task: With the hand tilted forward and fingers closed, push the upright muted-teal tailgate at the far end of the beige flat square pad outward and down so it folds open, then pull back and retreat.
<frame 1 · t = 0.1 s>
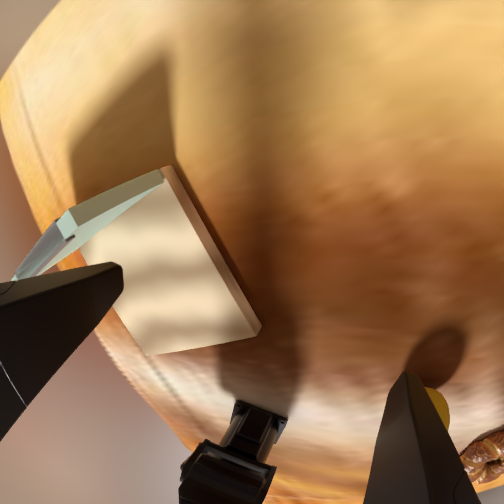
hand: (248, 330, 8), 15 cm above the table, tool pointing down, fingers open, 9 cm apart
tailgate: (73, 236, 23), point 6 cm above the table, hinge at -3.0°
pretzel: (493, 446, 24), on the table
lemon: (419, 387, 24), on the table
beige flat square pad: (157, 275, 30), on the table
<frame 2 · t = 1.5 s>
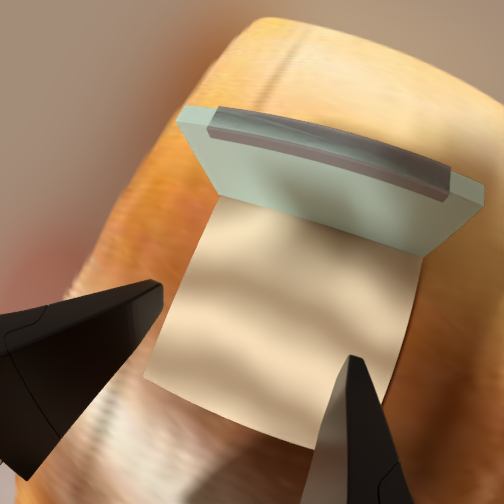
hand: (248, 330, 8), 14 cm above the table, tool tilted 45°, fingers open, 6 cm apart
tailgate: (325, 186, 17), point 6 cm above the table, hinge at -3.0°
beige flat square pad: (289, 319, 22), on the table
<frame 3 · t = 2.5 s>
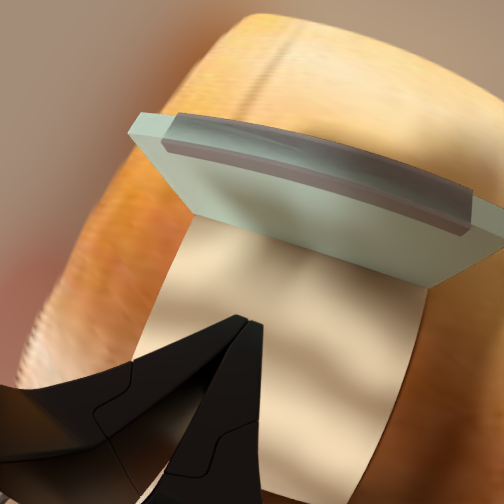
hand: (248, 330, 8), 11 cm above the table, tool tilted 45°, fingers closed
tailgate: (312, 209, 14), point 6 cm above the table, hinge at -3.0°
beige flat square pad: (271, 357, 18), on the table
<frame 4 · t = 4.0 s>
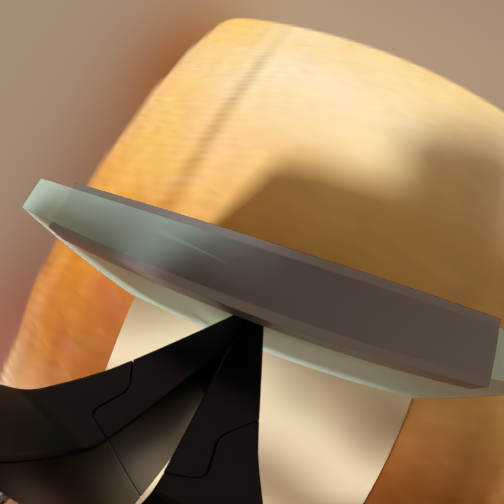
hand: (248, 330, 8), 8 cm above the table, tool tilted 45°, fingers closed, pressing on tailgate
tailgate: (261, 319, 10), point 6 cm above the table, hinge at 5.9°, touching gripper
beige flat square pad: (223, 459, 14), on the table
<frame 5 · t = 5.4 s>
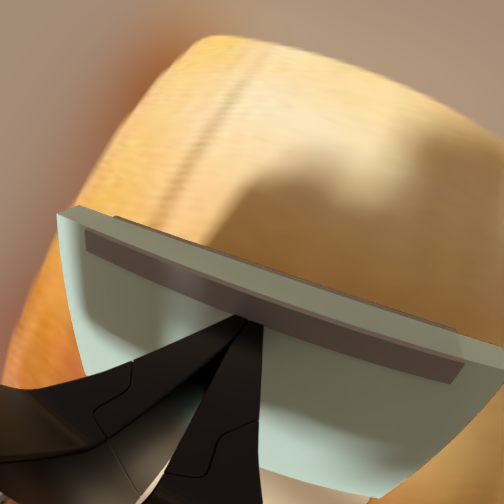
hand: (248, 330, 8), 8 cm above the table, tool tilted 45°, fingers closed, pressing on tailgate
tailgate: (238, 385, 10), point 5 cm above the table, hinge at 47.7°, touching gripper
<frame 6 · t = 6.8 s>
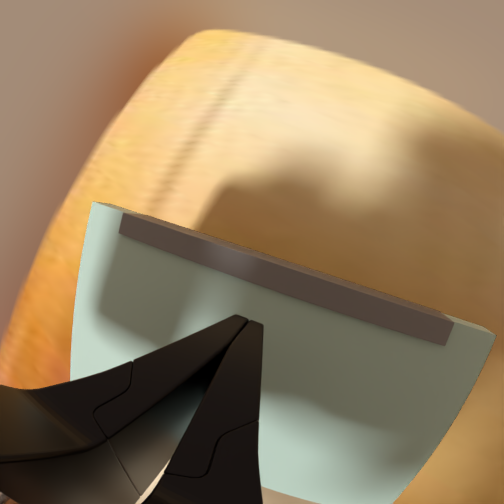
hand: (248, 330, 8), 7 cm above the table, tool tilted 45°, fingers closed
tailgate: (242, 379, 11), point 4 cm above the table, hinge at 68.2°
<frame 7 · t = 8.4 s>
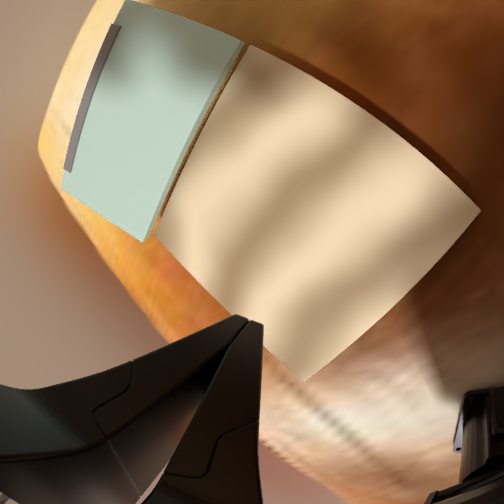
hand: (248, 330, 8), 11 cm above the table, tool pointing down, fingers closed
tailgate: (132, 121, 19), point 4 cm above the table, hinge at 68.2°
beige flat square pad: (292, 218, 19), on the table
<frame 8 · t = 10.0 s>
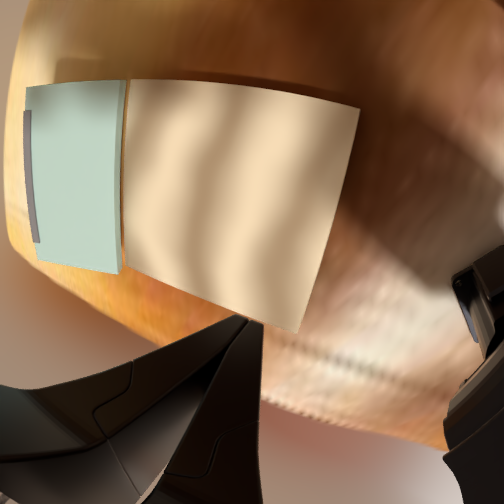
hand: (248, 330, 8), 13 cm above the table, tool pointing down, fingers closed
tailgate: (69, 179, 22), point 4 cm above the table, hinge at 68.2°
beige flat square pad: (220, 197, 22), on the table
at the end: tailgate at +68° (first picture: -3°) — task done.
